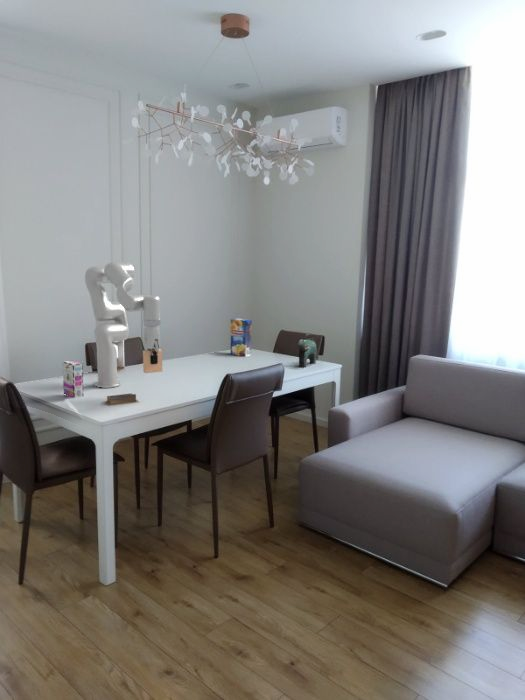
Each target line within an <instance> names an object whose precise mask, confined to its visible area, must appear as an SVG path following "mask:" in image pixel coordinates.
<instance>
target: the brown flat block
mask: <svg viewBox="0 0 525 700" xmlns="http://www.w3.org/2000/svg"><path fill="white" fill-rule="evenodd" d="M103 403H104V404H106V406H109V407H110V406H112V407H113V406H120V405H126V404H127V405H128V404H134V403H135V404H136V403H140V401H139V400H138V399H137V394H136V393H122V394H114V395H107V396H106V400H104V401H103Z"/></svg>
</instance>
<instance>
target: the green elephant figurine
mask: <svg viewBox="0 0 525 700" xmlns="http://www.w3.org/2000/svg"><path fill="white" fill-rule="evenodd" d="M307 336H308V337H309V336H310V334H309V333H306V334H305V337H304V338H303V339H300V340H299V341H298V343H297V346H298V347H297V348H298V367H299V368H301V369H302V368H303V369H304V368H307V361H308V358H309V364H312V365H314V364H316V361H317V356H318V349H317V344H316V342H315V339H314V338H313V337H312V338H308V339H307Z"/></svg>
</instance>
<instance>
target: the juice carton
mask: <svg viewBox="0 0 525 700" xmlns="http://www.w3.org/2000/svg"><path fill="white" fill-rule="evenodd" d="M252 322H253V320H252V319H248V318H232V319H230V356H236V355H238V357H244V356H246V357H249V356H252V330H253V329H252V324H253V323H252Z"/></svg>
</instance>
